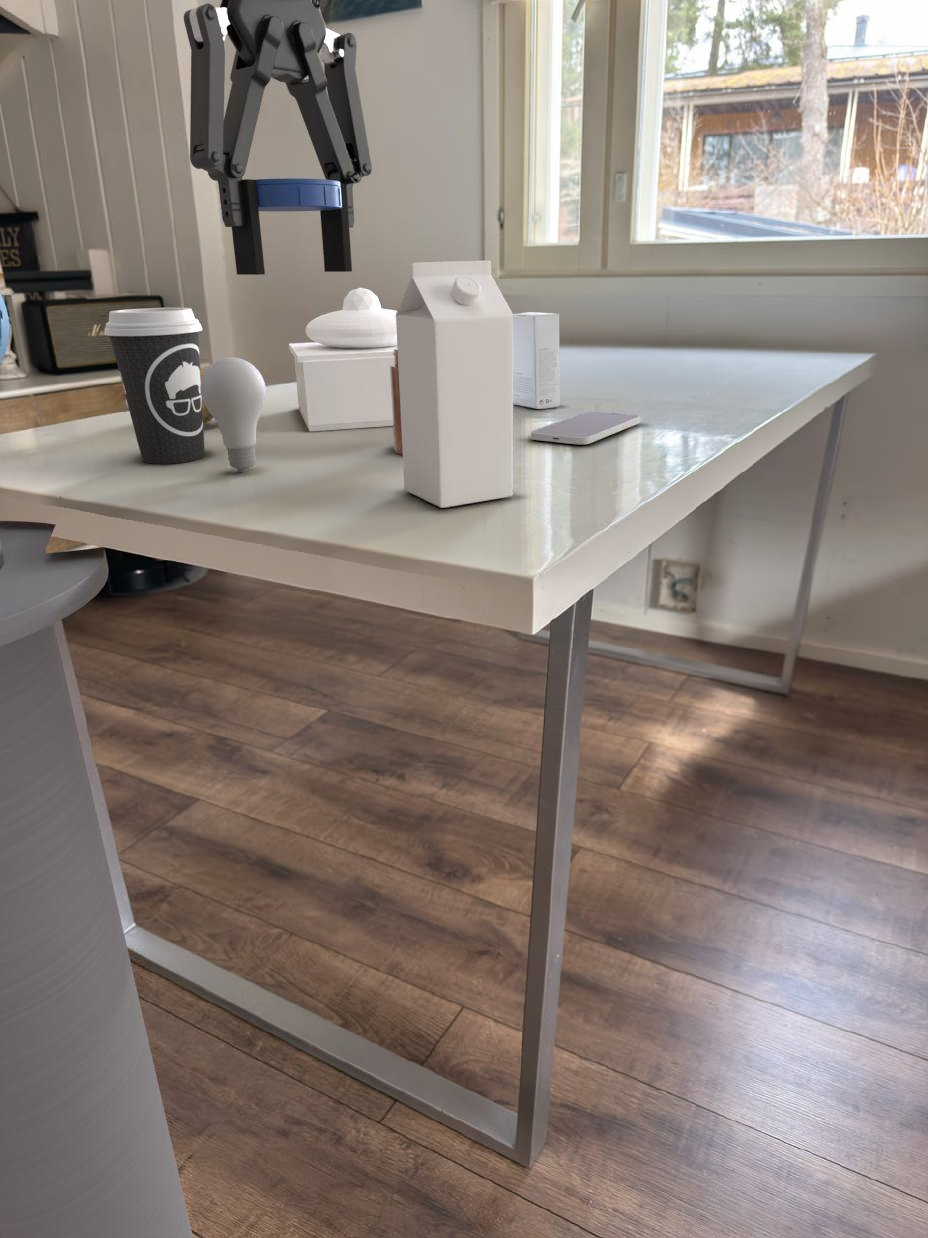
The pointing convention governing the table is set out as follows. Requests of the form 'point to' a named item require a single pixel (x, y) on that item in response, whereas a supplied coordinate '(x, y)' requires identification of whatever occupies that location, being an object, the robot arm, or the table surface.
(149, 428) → the coffee cup
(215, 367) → the lightbulb
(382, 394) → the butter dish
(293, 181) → the jar lid
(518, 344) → the cosmetic box
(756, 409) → the table surface
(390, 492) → the table surface
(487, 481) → the milk carton
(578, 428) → the smartphone
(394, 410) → the jar
